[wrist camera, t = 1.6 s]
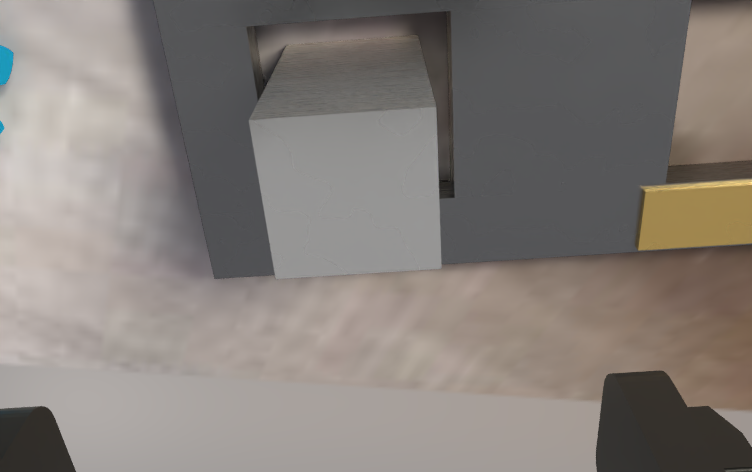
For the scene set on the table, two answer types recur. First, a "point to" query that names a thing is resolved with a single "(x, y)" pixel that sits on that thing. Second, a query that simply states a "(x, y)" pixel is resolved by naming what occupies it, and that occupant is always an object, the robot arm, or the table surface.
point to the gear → (5, 69)
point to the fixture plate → (483, 127)
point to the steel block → (349, 159)
